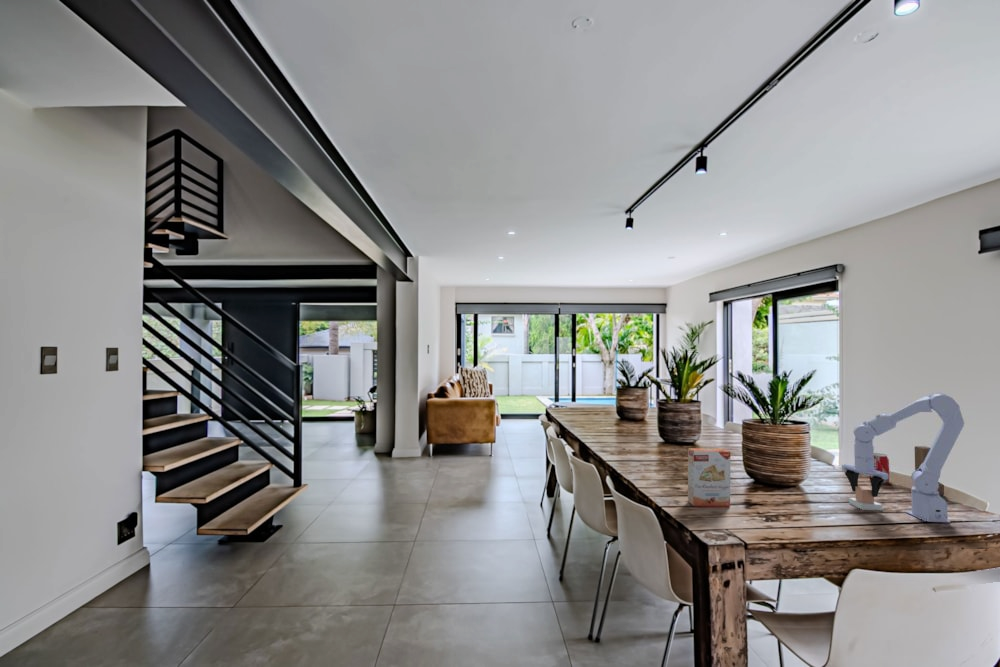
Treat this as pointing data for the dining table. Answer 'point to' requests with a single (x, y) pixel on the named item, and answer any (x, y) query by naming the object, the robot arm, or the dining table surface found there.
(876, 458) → the soda can
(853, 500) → the foundation slab
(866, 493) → the column block
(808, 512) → the dining table surface
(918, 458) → the wooden block
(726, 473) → the cracker box
